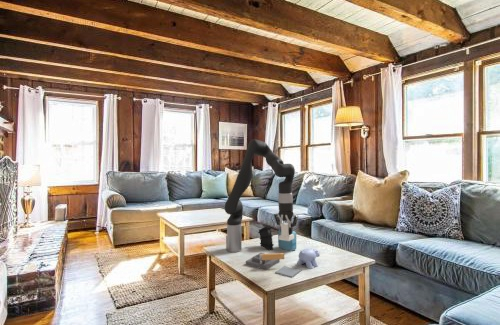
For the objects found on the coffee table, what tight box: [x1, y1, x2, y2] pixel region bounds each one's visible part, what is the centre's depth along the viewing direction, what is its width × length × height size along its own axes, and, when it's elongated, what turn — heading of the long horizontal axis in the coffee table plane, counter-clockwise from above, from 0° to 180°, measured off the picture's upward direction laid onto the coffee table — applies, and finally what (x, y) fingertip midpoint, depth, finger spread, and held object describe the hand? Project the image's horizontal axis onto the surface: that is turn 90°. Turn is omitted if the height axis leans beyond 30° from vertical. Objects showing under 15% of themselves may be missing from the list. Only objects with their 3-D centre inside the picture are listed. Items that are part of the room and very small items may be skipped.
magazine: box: [257, 225, 274, 251], centre depth 194 cm, size 4×13×15 cm, turn 29°
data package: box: [277, 229, 297, 252], centre depth 192 cm, size 12×4×12 cm, turn 43°
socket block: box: [245, 252, 281, 271], centre depth 166 cm, size 14×14×4 cm
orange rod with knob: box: [258, 252, 285, 260], centre depth 160 cm, size 2×14×3 cm, turn 96°
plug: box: [279, 222, 294, 241], centre depth 154 cm, size 6×6×8 cm
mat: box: [274, 265, 302, 278], centre depth 153 cm, size 10×10×1 cm
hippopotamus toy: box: [296, 248, 321, 270], centre depth 164 cm, size 11×15×10 cm
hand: (286, 233), depth 154 cm, fingers closed on plug, 4 cm apart
